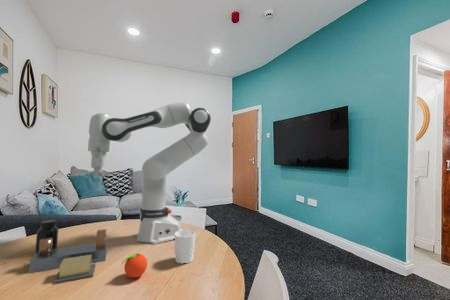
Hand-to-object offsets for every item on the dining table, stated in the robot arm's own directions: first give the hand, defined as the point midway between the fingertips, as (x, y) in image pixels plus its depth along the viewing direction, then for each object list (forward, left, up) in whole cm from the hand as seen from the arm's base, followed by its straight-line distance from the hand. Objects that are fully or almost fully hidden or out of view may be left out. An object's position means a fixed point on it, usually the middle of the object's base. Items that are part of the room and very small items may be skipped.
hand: (97, 176), depth 102 cm
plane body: (+5, +22, -29) cm, 37 cm away
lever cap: (+2, +33, -28) cm, 44 cm away
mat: (+2, +33, -29) cm, 44 cm away
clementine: (-15, +42, -29) cm, 53 cm away
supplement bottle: (+16, +8, -29) cm, 34 cm away
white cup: (-33, +37, -29) cm, 58 cm away
